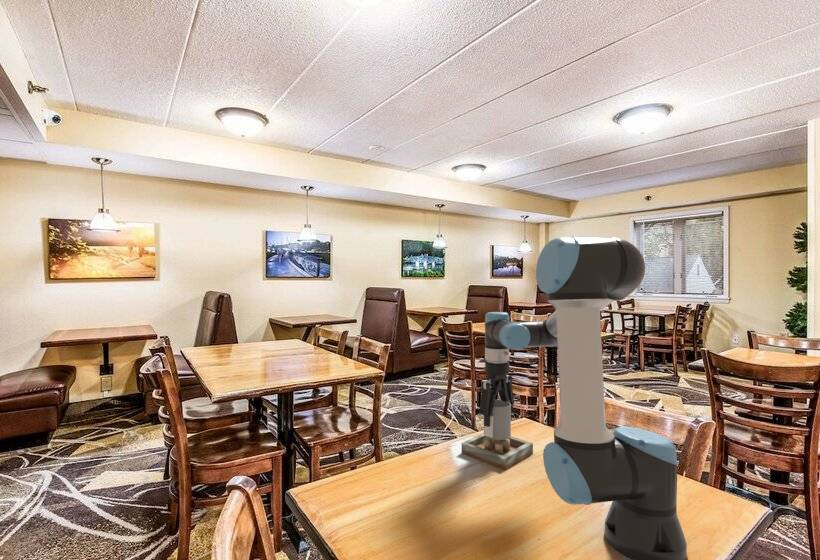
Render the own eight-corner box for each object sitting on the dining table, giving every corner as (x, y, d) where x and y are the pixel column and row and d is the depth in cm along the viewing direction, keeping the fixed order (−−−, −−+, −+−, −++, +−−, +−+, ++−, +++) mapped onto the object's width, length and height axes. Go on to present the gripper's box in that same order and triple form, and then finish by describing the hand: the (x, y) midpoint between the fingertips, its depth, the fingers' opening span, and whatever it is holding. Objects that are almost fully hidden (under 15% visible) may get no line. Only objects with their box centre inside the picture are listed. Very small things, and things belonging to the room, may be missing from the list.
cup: (508, 430, 136) (508, 399, 136) (512, 440, 128) (512, 407, 128) (482, 429, 137) (482, 399, 137) (484, 439, 129) (484, 407, 129)
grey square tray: (504, 469, 121) (504, 455, 121) (461, 453, 133) (461, 439, 133) (532, 453, 132) (532, 440, 132) (490, 439, 144) (490, 427, 144)
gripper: (487, 368, 122) (487, 445, 122) (525, 357, 137) (525, 426, 137) (466, 364, 127) (467, 437, 128) (505, 354, 142) (505, 421, 142)
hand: (497, 432), depth 132 cm, fingers closed on cup, 8 cm apart
